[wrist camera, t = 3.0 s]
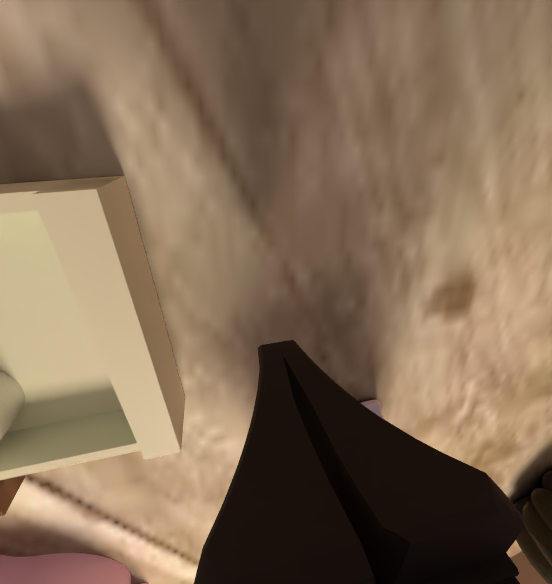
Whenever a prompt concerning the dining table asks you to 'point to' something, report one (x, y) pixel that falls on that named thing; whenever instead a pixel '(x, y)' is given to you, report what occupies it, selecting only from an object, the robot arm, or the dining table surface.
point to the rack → (8, 492)
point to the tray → (82, 329)
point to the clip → (62, 569)
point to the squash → (538, 527)
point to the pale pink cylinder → (9, 401)
